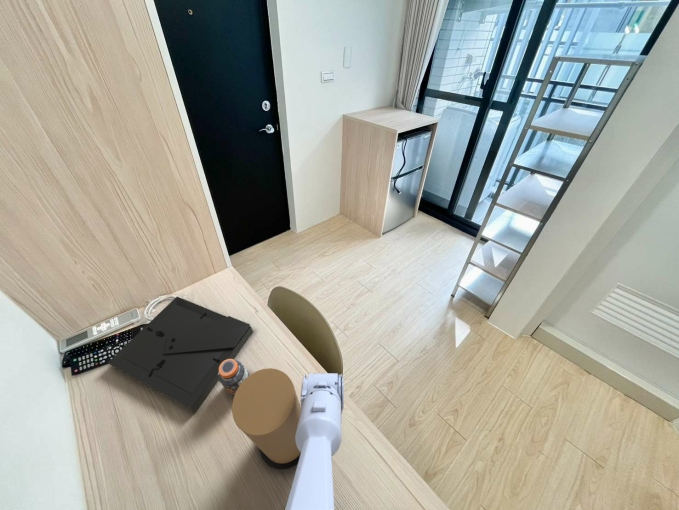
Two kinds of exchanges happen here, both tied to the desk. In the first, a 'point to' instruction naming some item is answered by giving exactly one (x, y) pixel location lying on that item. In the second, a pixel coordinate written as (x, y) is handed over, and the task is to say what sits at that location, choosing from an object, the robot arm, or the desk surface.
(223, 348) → the picture frame
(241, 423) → the tan pedal trash can
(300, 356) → the desk surface
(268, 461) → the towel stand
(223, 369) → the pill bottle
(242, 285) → the desk surface
